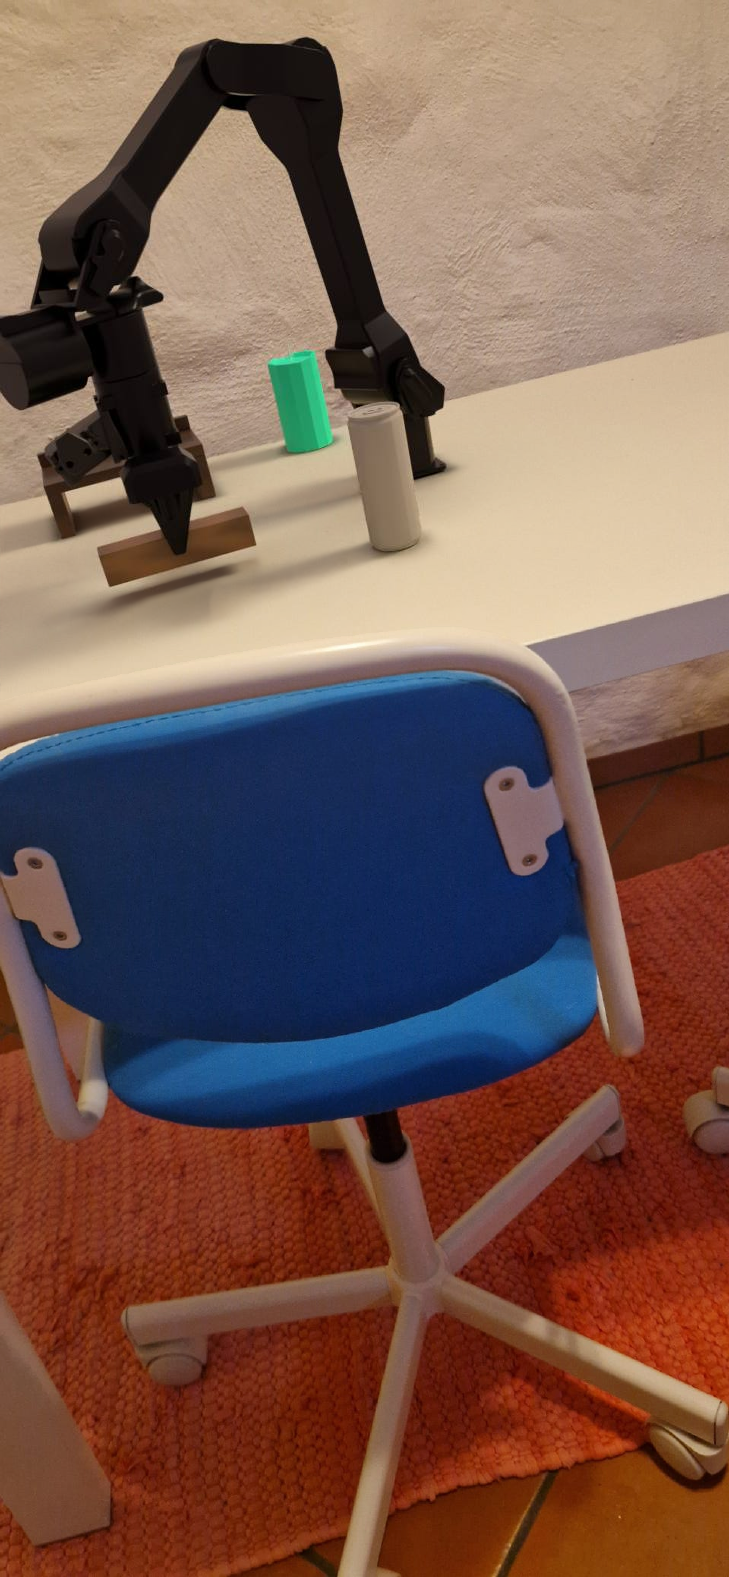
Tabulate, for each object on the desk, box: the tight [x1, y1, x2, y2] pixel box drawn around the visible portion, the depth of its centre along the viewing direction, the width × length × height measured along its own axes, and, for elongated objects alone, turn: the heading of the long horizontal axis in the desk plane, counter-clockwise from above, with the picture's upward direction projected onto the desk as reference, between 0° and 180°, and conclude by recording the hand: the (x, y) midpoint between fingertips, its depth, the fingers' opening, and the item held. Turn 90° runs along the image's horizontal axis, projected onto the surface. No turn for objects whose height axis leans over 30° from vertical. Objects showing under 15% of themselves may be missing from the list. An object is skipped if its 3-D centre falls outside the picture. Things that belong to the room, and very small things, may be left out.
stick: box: [96, 506, 257, 588], centre depth 98 cm, size 14×3×3 cm, turn 106°
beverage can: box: [346, 402, 423, 552], centre depth 94 cm, size 5×5×12 cm
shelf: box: [36, 413, 217, 539], centre depth 122 cm, size 10×18×8 cm, turn 106°
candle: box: [267, 343, 334, 454], centre depth 129 cm, size 6×6×12 cm
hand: (177, 549), depth 98 cm, fingers closed on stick, 3 cm apart
